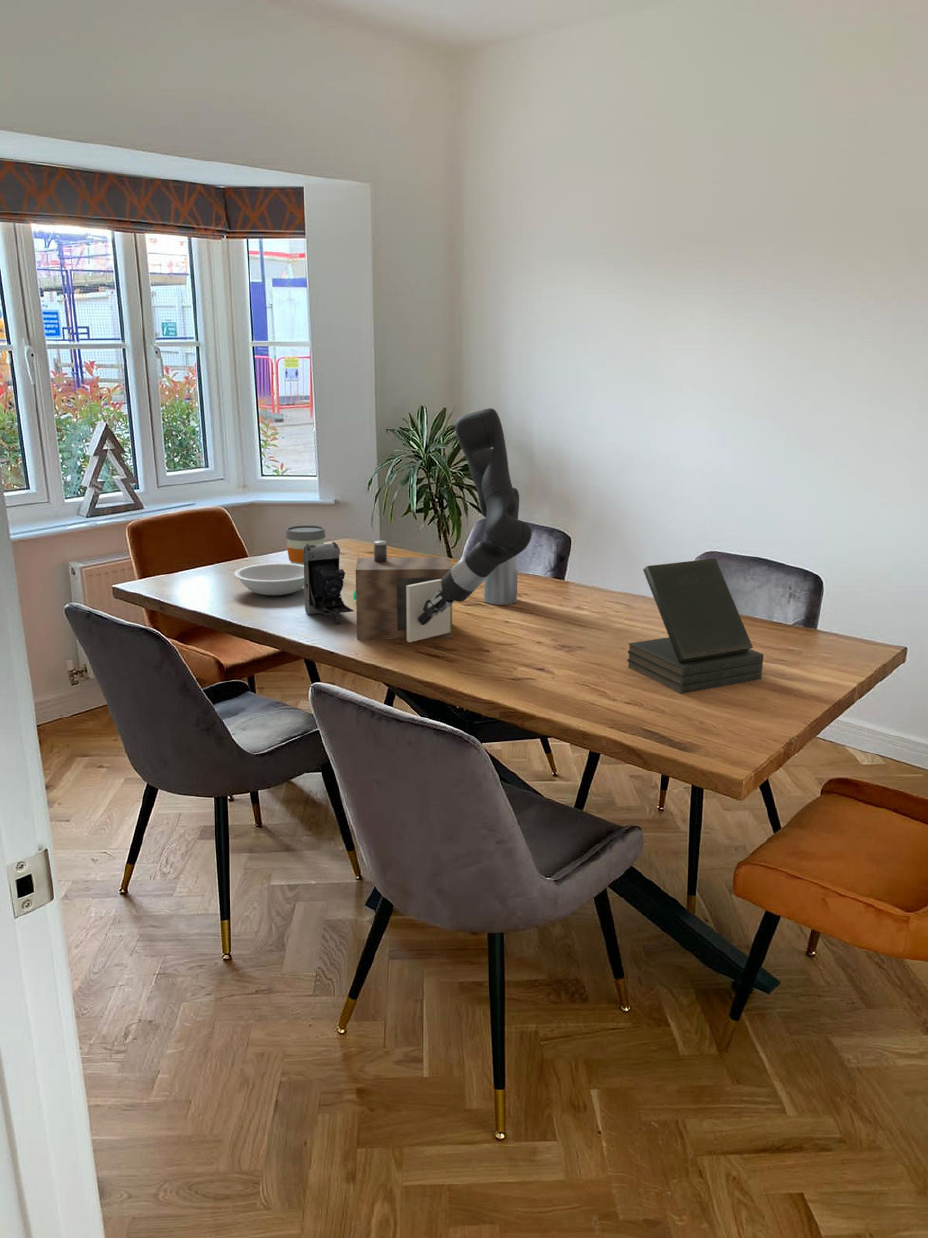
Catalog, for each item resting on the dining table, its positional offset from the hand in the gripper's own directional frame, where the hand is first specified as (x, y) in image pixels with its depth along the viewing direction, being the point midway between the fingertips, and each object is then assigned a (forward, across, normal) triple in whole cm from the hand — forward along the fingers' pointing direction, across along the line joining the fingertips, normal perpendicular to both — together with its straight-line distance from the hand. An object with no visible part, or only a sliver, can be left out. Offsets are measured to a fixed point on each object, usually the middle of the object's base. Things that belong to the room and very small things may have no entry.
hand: (421, 621), depth 234 cm
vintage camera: (+30, -10, -21) cm, 38 cm away
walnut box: (+13, -10, -4) cm, 17 cm away
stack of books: (-38, -17, +50) cm, 66 cm away
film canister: (+5, -10, -21) cm, 24 cm away
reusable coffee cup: (+56, -47, -49) cm, 88 cm away
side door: (+3, -4, +3) cm, 6 cm away
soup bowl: (+51, -23, -43) cm, 71 cm away
